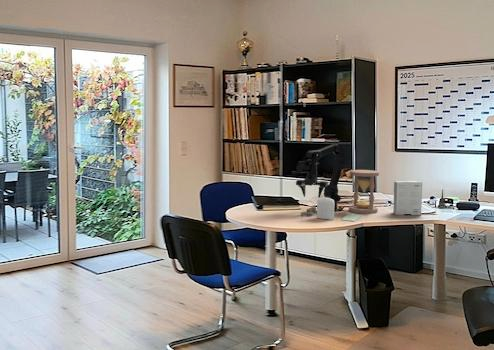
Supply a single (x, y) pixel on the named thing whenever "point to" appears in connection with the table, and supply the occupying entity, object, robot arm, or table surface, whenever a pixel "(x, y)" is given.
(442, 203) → the eiffel tower figurine
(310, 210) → the turner
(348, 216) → the mat
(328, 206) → the photo printer
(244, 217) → the table surface
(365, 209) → the hourglass
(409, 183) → the hard drive box
